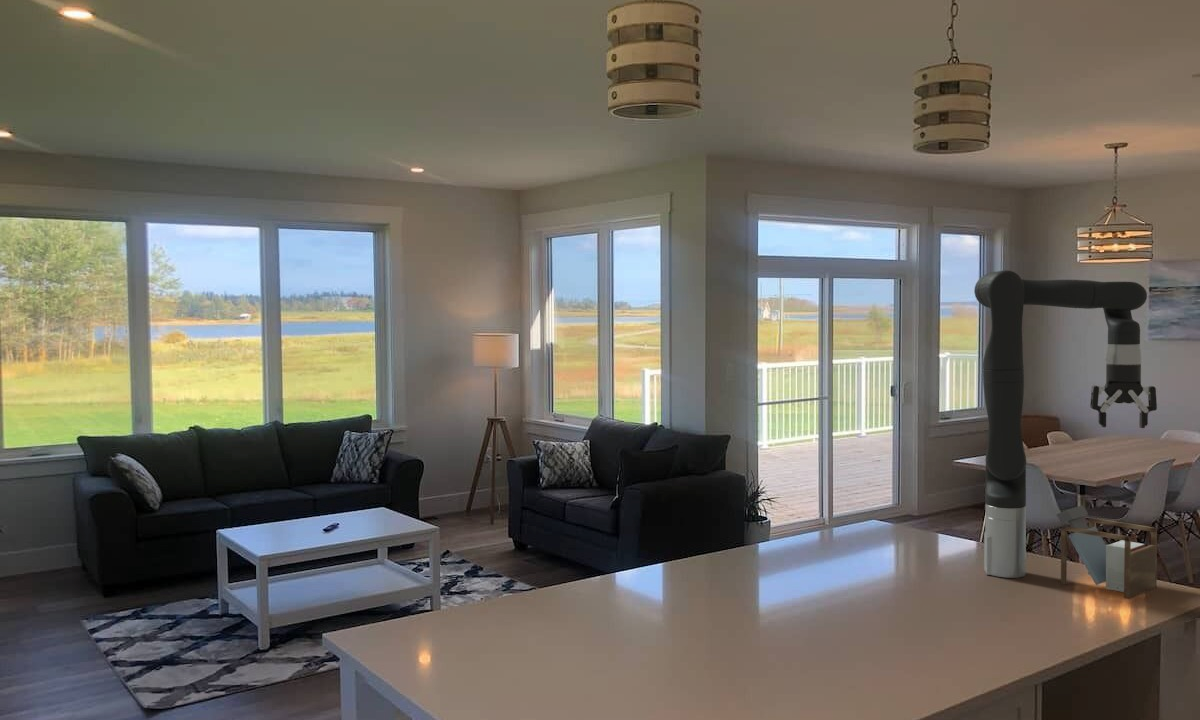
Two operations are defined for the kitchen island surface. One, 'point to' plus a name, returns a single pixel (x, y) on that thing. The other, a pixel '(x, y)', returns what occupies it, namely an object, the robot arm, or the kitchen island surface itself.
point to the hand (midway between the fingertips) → (1122, 427)
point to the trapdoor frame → (1136, 563)
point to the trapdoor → (1086, 543)
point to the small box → (1117, 564)
